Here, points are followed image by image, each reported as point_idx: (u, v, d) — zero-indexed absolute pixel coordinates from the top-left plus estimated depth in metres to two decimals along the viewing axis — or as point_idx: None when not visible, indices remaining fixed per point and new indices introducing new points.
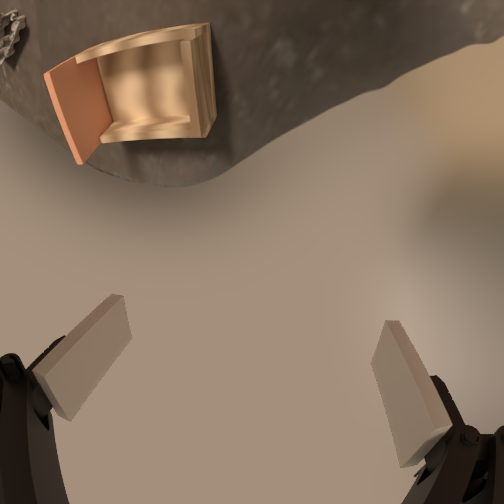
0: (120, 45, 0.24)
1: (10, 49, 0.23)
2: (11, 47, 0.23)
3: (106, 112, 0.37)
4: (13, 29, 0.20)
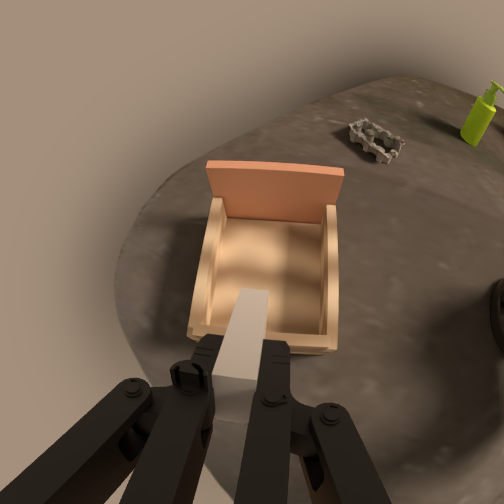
0: (334, 261, 0.31)
1: (357, 138, 0.48)
2: (358, 140, 0.49)
3: (243, 214, 0.39)
4: None
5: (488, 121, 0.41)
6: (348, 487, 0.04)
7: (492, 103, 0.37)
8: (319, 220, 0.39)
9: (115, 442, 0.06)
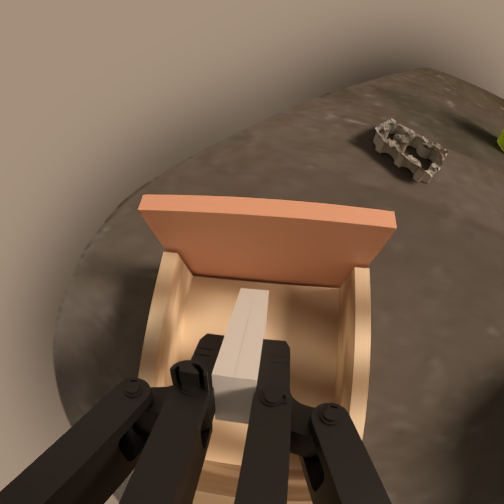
0: (363, 374, 0.16)
1: (386, 148, 0.34)
2: (387, 150, 0.34)
3: (216, 272, 0.25)
4: None
5: None
6: (348, 487, 0.04)
7: None
8: (338, 282, 0.24)
9: (115, 442, 0.06)
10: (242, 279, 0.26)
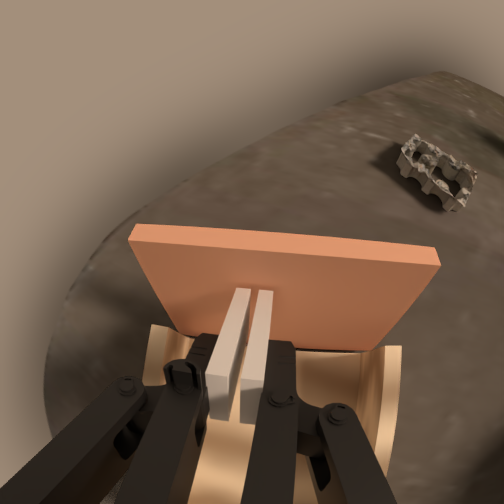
0: (382, 463, 0.12)
1: (413, 172, 0.28)
2: (414, 174, 0.29)
3: (218, 331, 0.20)
4: None
5: None
6: (355, 487, 0.04)
7: None
8: (361, 343, 0.19)
9: (110, 440, 0.06)
10: None
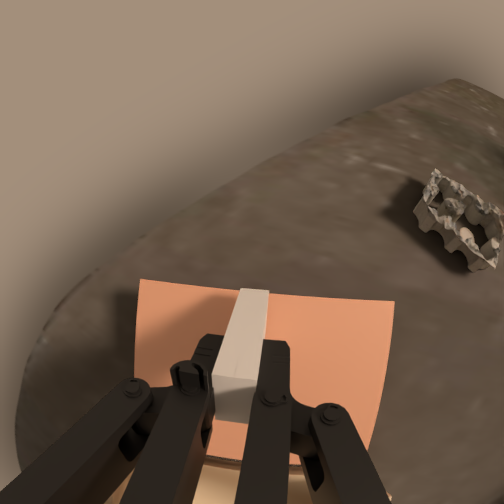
0: None
1: (435, 225, 0.22)
2: (436, 227, 0.22)
3: None
4: (463, 234, 0.22)
5: None
6: (348, 487, 0.04)
7: None
8: None
9: (115, 441, 0.06)
10: (215, 450, 0.14)
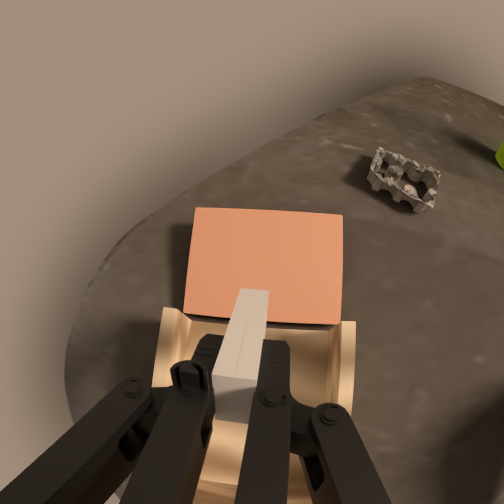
0: None
1: (383, 185, 0.34)
2: (384, 186, 0.34)
3: (218, 299, 0.28)
4: (406, 189, 0.34)
5: None
6: (348, 487, 0.04)
7: None
8: (327, 308, 0.27)
9: (115, 441, 0.06)
10: None
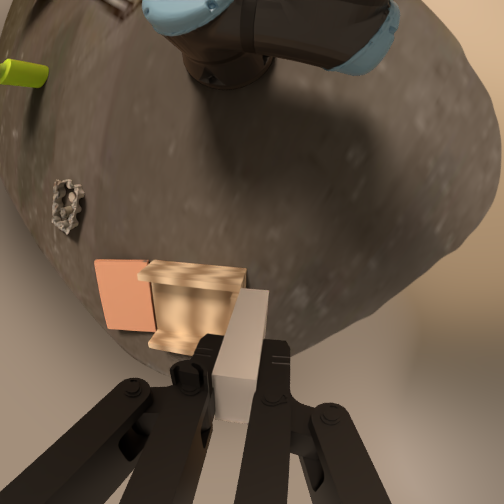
0: (179, 281, 0.44)
1: (74, 220, 0.49)
2: (74, 218, 0.50)
3: (145, 317, 0.53)
4: (72, 199, 0.49)
5: (21, 65, 0.30)
6: (348, 487, 0.04)
7: (2, 67, 0.26)
8: (139, 269, 0.50)
9: (115, 442, 0.06)
10: (149, 308, 0.53)
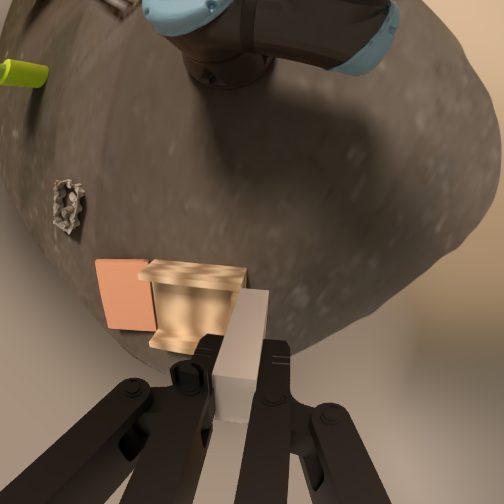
0: (180, 281, 0.44)
1: (75, 219, 0.49)
2: (75, 218, 0.50)
3: (146, 317, 0.54)
4: (72, 199, 0.49)
5: (21, 66, 0.30)
6: (348, 487, 0.04)
7: (2, 68, 0.26)
8: (140, 268, 0.50)
9: (115, 442, 0.06)
10: (150, 308, 0.53)
